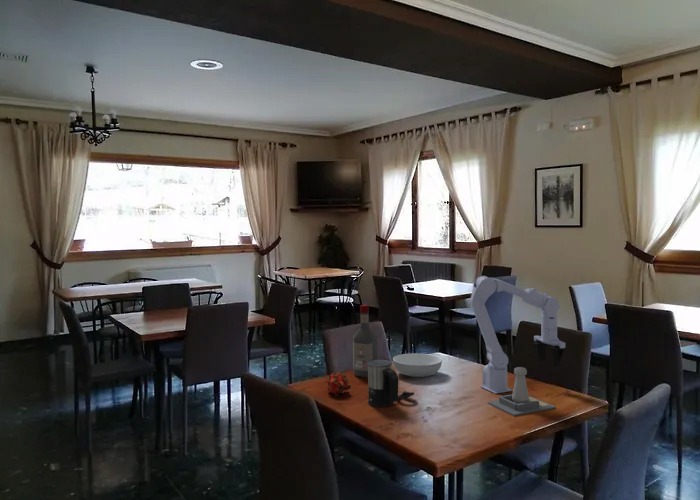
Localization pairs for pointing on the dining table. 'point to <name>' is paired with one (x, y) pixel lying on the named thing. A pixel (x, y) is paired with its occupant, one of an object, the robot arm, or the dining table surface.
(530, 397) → the stand
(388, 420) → the dining table surface
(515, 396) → the salt shaker
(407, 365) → the serving bowl
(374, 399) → the milk frother
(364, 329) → the liquor
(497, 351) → the robot arm
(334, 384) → the dragon fruit
